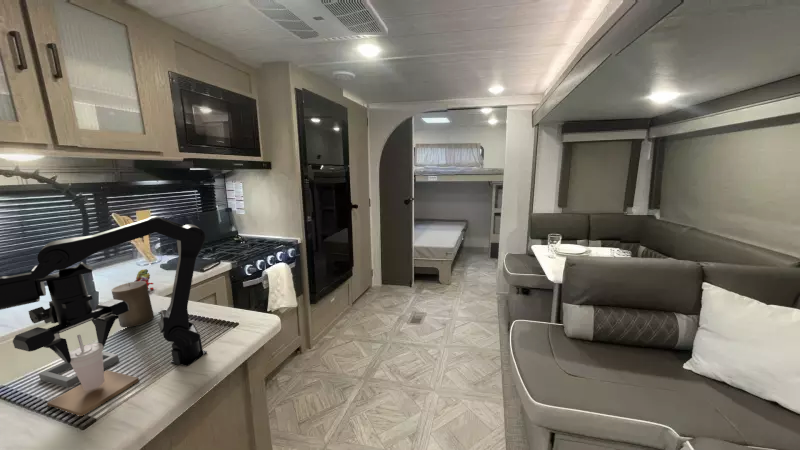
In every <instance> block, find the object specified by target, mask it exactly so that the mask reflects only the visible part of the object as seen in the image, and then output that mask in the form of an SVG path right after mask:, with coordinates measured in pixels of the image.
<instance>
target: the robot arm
mask: <svg viewBox="0 0 800 450" xmlns="http://www.w3.org/2000/svg"><path fill="white" fill-rule="evenodd" d="M156 233H157V234H160V235H163V236H165V237H168V238H171V239H174V240H176V241H177V242H176V244H177V245H176V246H177V254H178V258H177V265H176V270H175V275H174V282H173V285H172V286H173V287H172V292H171V296H170V297H171V298H170V303H169V305H168V307H167V309H166V310H162V309H161V310H160V320H159V321H158V323H157V326H158V328H159V332H160V333H161V334H162V336H163V339H165V340H166V342H170V343H171V348H172V349H171V350H170V351H171V356H172V359H171V360H170V363H171V364H176V365H180V366H184V367H188V366H190V365H191V364H193V363H195V362H196V361H197V360H199V359H200V358H201V357H203V356H205V355H206V354H208V351H207V350H204V349H203V347H202V346H203V345H202V339H201V334H200V333H199V331H198V329H197V327H196V324H195V323H194V322H191V321H190V319H189V310H188V305H189V299H190V293H191V287H192V282H193V278H194V277H193V276H194V273H195V272H194V271H195V267H196V265H195V264H196V260H197V258H198V256H199V254H200V253H201V251H202V250H203V246H204V243H205V241H206V233H205V231H204V230H202V229H201V228H200V227H198V226H197V225H195V224H187V223H186V224H185V225H184V224H181V223H178V222H175V221H171V220H170V219H169V220H168V219H165V218H162V217H161V216H159V215H152V216H149V217H147V218H145V219H141V220H138V221H134V222H131V223H128V224H126V225H122V226H118V227H114V228H111V229H109V230H105V231H101V232H98V233H95V234H91V235H86V236H76V237H75V236H74V237H70V238H69V237H68V238H64V239H63V238H62V239H59V240H58V239H57V240H53V241H50V242H48V243H47V244H45V245H43V247H42V248H41V250H39V252H38V254H37V261H38V264H37V265H34V267H32V269H31V270H30V272H26V273H19V274H14V275H4V276H0V311H2V310H6V309H10V308H16V307H20V306H23V305H24V306H25V305H29V304H33V303H37V302H40V299H41V297H44V296H46V295H47V291H46V289H48V291H49V295H50V299H51V300H50V301H48V302H49V304H48V305H49V307H48V308H44V307H43V306H40V307H36V308H33V309H30V310H28V315H29V319H30V321H31V322H32V323H33V324H37V323H40V322H42V321H43V322H44V324H49V323H51V324H56V325H54V326H52V327H49V328H48V327H47V328H43V327H41V326H39V327H38V326H37V327H34V328H31V329H29V330H27V331H24V332H21V333H19V334H16V335H15V336H14V337H13V340H12V344H13V347H14V349H17V350H22V351H26V352H34V351H36V350H39V349H42V348H45V349H46V348H47V349H50V350H51V351H53V352H54V353H55V354H56V355H57V356H58V357H59V358H60V359H61V360H62V361H63V362H64V361H65V362H66V363H70V362H71V357H70V353H69V352H70V349H69V346H68V342H67V338H63V337H61V335H60V334H61V333H64V332H67V331H68V330H71V329H74V328H76V327H78V326H81V325H83V324H86V323H88V322H92V323H93V325H94V327H95V328H94V329H95V333H96V338H97V343H102V344H103V347H105V346H106V342H107V339H108V337H109V335H110V332H111V329H112V327H113V326H114V324H115V322H116V320H119V319H118V318H119V316H118V315H120V314H122V313H125V312H127V311H129V310H130V309H129V305H128V303H127V302H126V301H122V300H115V299H113V298H111V299H109V300H106V301H104V302H101V303H98V304H97V305H96V307H95V310H93V309H92V308H93V307H92V304H91V300H93V295H91V294H89V293H88V289H87V286H86V282H85V278H84V274H90V273H92V272H93V268H94V267H93V266H92V265H88V264H86V263H85V262H83V260H85V259H87V258H89V257H91V256H93V255H94V254H96V253H98V252H100V251H103V250H106V249H110V248H113V247H116V246H118V245H122V244H125V243H128V242H131V241H134V240H137V239H140V238H144V237H146V236H149V235H153V234H156ZM78 263H79V264H78ZM76 264H78V265H76ZM74 265H76V266H74ZM71 266H73V267H71ZM55 271H58V272H56V273H53V272H55ZM51 273H52V274H51ZM44 282H46V284H47V288H46V285H45V283H44Z"/></svg>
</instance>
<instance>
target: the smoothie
mask: <svg viewBox="0 0 800 450" xmlns="http://www.w3.org/2000/svg"><path fill="white" fill-rule="evenodd" d="M76 335H77V336H76V337H77V340H78V344H79V346H78V347H76V348H74V349H72V350H71V351H69V353H70V357H71V362H70V363H71V365H72V367H71V368H72V369H73V372H74V373H75V374H76V375H77V377H78V379H79V381H80V382H79V383H80V385H81V384H82V386H83V388H84V390H91V389H94V388H96V387H98V386H100V385H102V384H103V383H104V370H105V369H104V368H103V353H102V351H103V350H104V347H105V346H103V344H102V343H99V342H92V343H87V344H85V345H84V342H83V340H82V335H81V334H76Z"/></svg>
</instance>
